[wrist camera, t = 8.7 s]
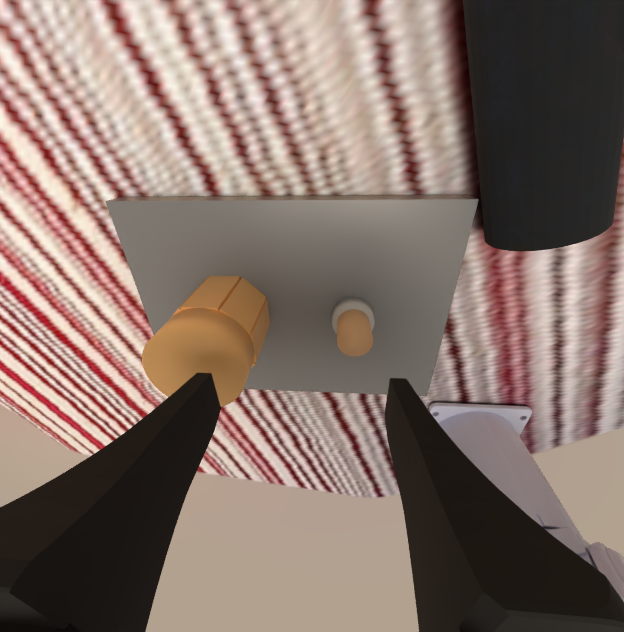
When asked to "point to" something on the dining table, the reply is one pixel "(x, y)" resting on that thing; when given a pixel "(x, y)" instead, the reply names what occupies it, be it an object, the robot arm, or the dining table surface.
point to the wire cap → (210, 338)
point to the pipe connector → (546, 117)
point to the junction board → (312, 277)
